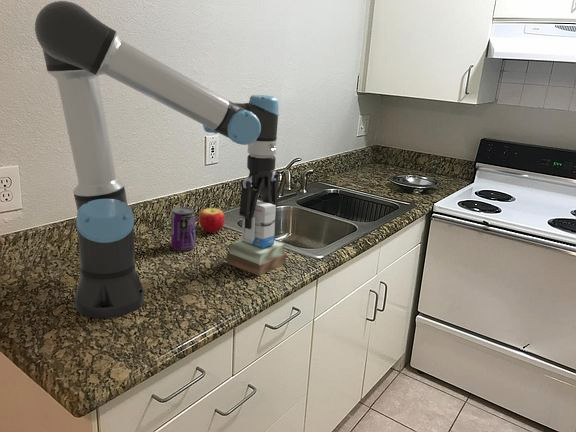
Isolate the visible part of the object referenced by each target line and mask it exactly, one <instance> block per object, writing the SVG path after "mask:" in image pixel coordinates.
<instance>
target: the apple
mask: <svg viewBox="0 0 576 432" xmlns="http://www.w3.org/2000/svg"><path fill="white" fill-rule="evenodd" d="M212 204H213V203H212V202H210V207H208V208H203V209H202V210H201V211H200V212H199V215H198V221H199V224H200V226H201V228H202V230H203V231H205V232H206V233H210V234H214V233H217V232H219V231H221V229H223V227H224V224H225V220H226V219H225V218H226V217H225V213H224V212H223V210H222V209H220V208H216V207H215V208H214V207H213V205H212Z"/></svg>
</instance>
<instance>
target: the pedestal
mask: <svg viewBox="0 0 576 432" xmlns="http://www.w3.org/2000/svg"><path fill="white" fill-rule="evenodd" d="M286 261H287V253H286V252H285V243H284V242H281V241H277V240H275V239H274V245H271V246H267V247H264V248H261V247H259V246H256V245H253V244H250V243H247V242H244V241H242V238H240V239H237V240H235V241H232V242H230V243H229V252H227V253H226V264H228V265H231V266H233V267H236V268H239V269H240V270H243V271H245V272H248V273H250V274H253V275H256V276H258V277H259V276H260V277H261V276H262V275H265V274H266V273H268V272H270V271H272V270H274V269H277V268H278V267H280V266H282V265H284V263H285V264H286Z"/></svg>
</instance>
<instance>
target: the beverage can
mask: <svg viewBox="0 0 576 432" xmlns="http://www.w3.org/2000/svg"><path fill="white" fill-rule="evenodd" d="M194 211H195V210H194V208H192V207H189V206H178V207H174V208H173V209H172V213H171V215H170V240H171V241H170V243H171V244H170V245H171V246H170V247H171V248H172V249H175V250H177V251H179V252H180V251H181V252H182V251H183V252H184V251H189V250H192V249H194V248H195V246H196V214H195V212H194Z"/></svg>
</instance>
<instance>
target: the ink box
mask: <svg viewBox="0 0 576 432" xmlns="http://www.w3.org/2000/svg"><path fill="white" fill-rule="evenodd" d="M276 209H277V208H276V205H273V204H270V203H266V202H263V200H259V199H257V203H256V207H255V211H254V215H253V217H255V235H254V240H253V241H252V240H249V239H247V238H245V217H244V216H242V230H241V231H242V233H241V239H242V241H244V242H247V243H250V244H253V245H256V246H259V247H261V248H264V247H267V246H271V245H274V240H275V231H276V230H275V227H276ZM249 213H250V212H249Z"/></svg>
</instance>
